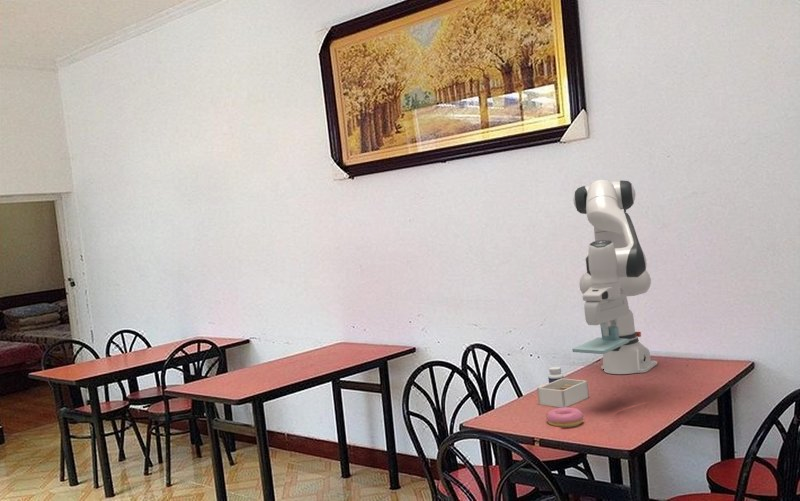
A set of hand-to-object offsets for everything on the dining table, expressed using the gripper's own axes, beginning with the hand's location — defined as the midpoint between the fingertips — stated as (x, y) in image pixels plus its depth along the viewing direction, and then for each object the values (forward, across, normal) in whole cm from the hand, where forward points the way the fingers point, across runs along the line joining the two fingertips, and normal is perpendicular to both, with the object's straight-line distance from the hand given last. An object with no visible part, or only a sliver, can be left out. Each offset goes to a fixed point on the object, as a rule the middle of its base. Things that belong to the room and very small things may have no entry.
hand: (610, 334), depth 226 cm
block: (+22, +3, -16) cm, 27 cm away
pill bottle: (+22, -3, -25) cm, 34 cm away
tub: (+22, +6, -16) cm, 28 cm away
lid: (+3, +6, 0) cm, 6 cm away
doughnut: (+23, +25, -3) cm, 34 cm away
